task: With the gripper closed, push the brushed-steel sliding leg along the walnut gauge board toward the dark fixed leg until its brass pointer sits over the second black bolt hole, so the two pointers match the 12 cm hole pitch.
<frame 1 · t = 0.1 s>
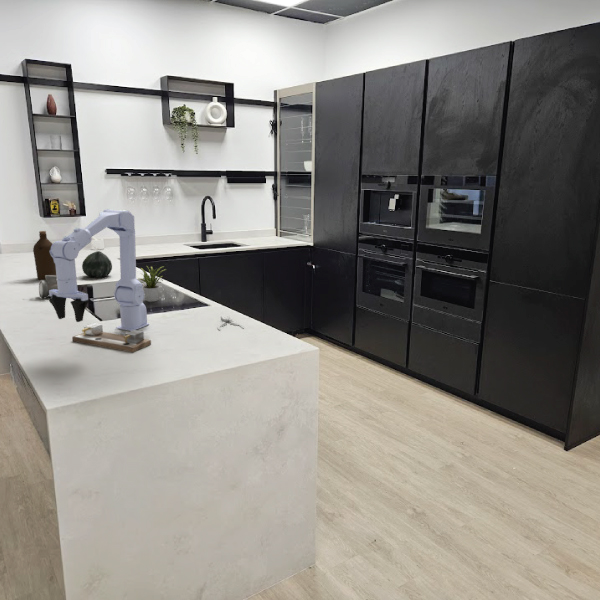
hand: (70, 319, 169), 10 cm above the table, fingers open, 7 cm apart
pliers: (228, 325, 203), on the table
house plant: (155, 300, 238), on the table
olive oil: (47, 278, 280), on the table
squash: (98, 276, 286), on the table
sliding leg: (90, 330, 181), point 3 cm above the table, slide at 0.0 cm
pipe fitting: (54, 296, 241), on the table
gauge board: (111, 342, 179), on the table
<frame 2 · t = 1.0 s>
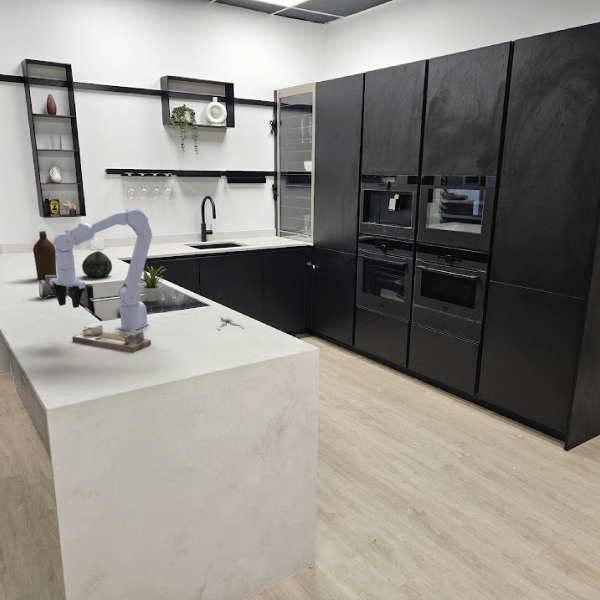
hand: (69, 306, 184), 10 cm above the table, fingers open, 6 cm apart
nothing on the table moved.
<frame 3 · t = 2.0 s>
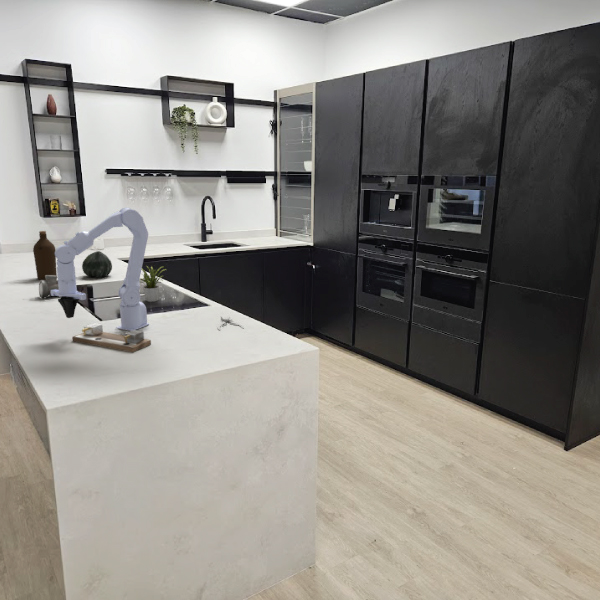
hand: (70, 317, 185), 6 cm above the table, fingers closed
nothing on the table moved.
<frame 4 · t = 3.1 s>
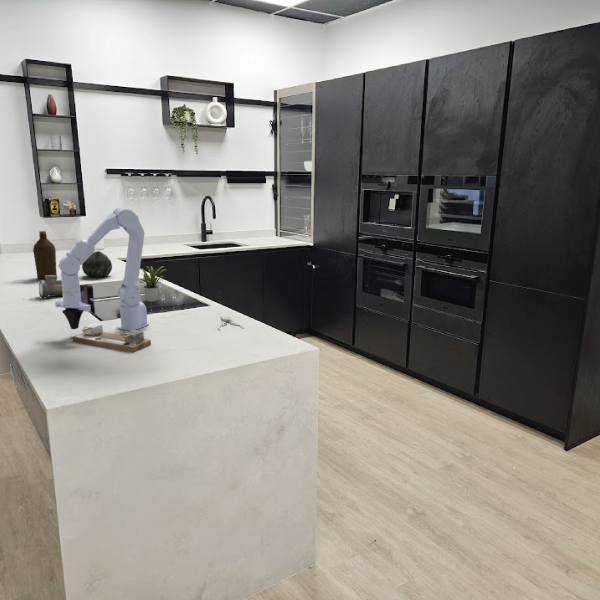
hand: (74, 328, 186), 2 cm above the table, fingers closed
nothing on the table moved.
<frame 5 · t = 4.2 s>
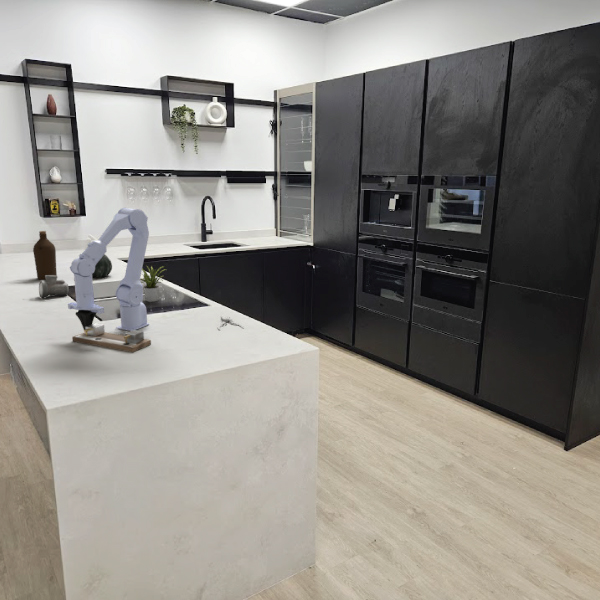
hand: (87, 330, 183), 2 cm above the table, fingers closed
sliding leg: (92, 330, 181), point 3 cm above the table, slide at 0.9 cm, touching gripper
everything else where it was.
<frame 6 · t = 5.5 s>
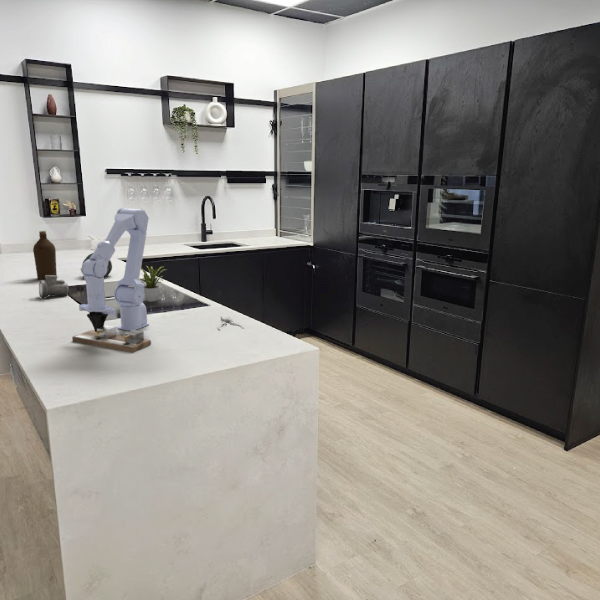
hand: (99, 332, 182), 2 cm above the table, fingers closed
sliding leg: (104, 332, 179), point 3 cm above the table, slide at 6.0 cm, touching gripper
everything else where it was.
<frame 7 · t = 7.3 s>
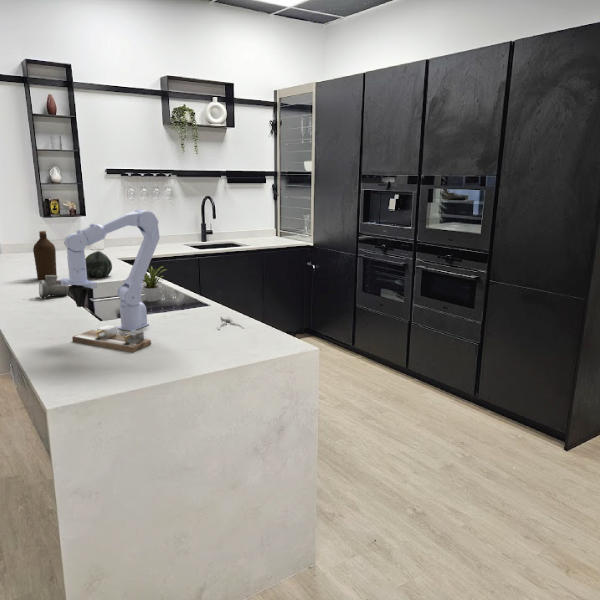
hand: (80, 306, 185), 10 cm above the table, fingers closed
sliding leg: (104, 332, 179), point 3 cm above the table, slide at 6.1 cm
everything else where it was.
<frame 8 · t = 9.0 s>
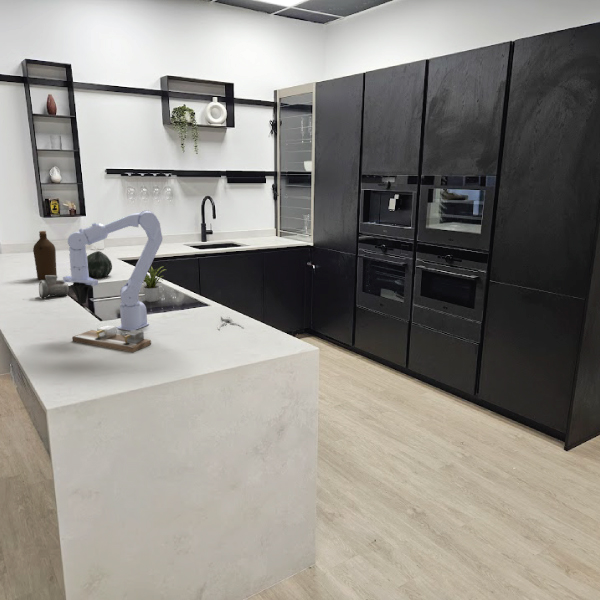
hand: (82, 303, 188), 10 cm above the table, fingers closed
nothing on the table moved.
at the end: sliding leg slide at 6.1 cm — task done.
